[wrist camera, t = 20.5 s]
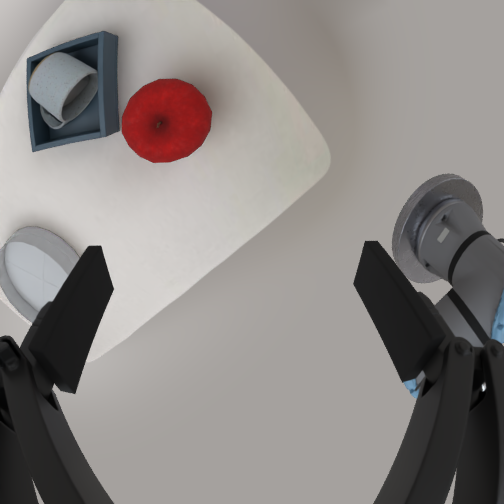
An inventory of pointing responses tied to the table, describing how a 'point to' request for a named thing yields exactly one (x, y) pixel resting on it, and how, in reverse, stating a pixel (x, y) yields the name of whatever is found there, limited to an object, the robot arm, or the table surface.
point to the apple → (166, 120)
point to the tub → (100, 107)
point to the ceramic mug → (62, 88)
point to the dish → (34, 268)
